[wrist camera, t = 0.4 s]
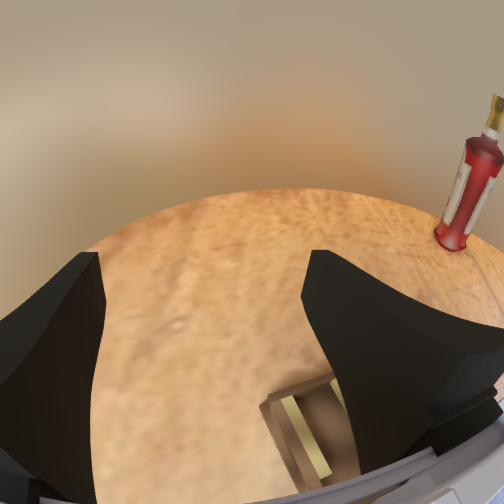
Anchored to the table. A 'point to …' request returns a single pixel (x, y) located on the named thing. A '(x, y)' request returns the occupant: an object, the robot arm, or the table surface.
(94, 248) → the table surface
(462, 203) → the liquor
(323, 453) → the keyhole track
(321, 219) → the table surface
